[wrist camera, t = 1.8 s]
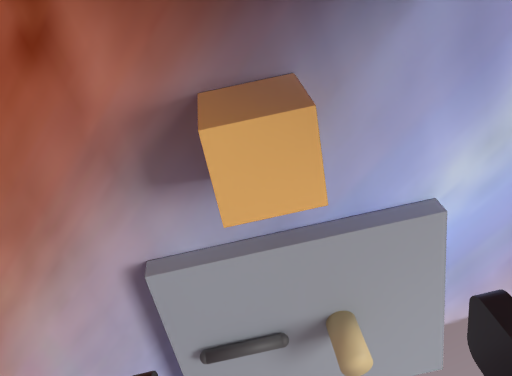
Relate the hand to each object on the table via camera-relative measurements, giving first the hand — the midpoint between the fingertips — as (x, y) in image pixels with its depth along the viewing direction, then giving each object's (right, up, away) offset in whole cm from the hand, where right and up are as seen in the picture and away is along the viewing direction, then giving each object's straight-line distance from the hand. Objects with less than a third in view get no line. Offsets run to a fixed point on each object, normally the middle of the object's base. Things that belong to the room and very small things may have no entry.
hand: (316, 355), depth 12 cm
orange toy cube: (-2, +7, +13) cm, 15 cm away
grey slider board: (+2, -4, +20) cm, 21 cm away
